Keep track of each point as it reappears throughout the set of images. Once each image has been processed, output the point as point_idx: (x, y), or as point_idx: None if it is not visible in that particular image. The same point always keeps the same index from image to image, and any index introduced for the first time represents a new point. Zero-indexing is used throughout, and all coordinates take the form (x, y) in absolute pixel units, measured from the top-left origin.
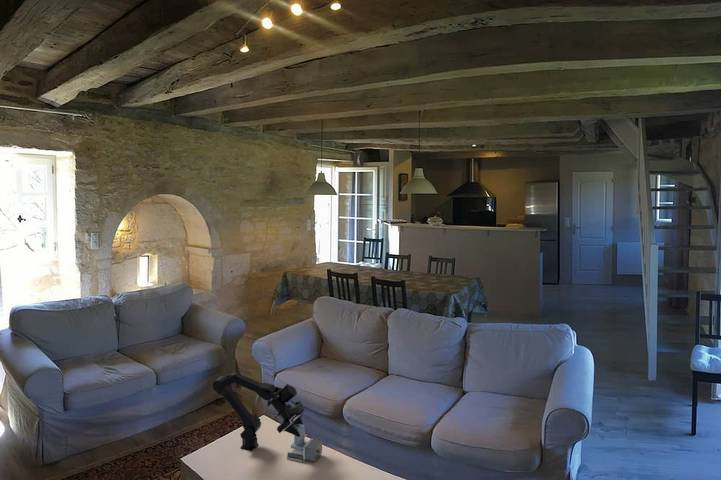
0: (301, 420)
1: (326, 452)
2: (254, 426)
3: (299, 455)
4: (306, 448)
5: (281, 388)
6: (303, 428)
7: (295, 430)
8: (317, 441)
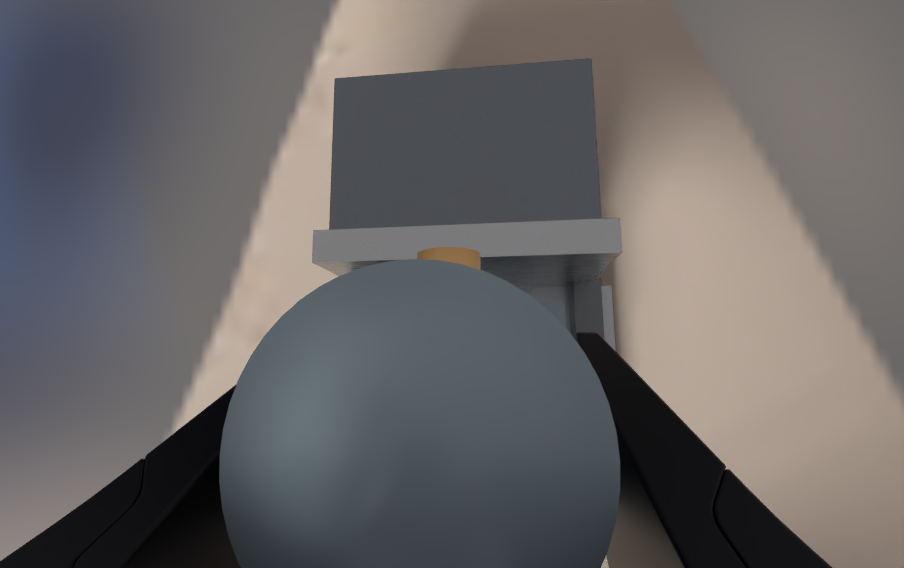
0: (29, 563)
1: (329, 152)
2: None
3: (595, 329)
4: (597, 206)
5: None
6: (465, 267)
7: (736, 477)
8: (373, 131)
